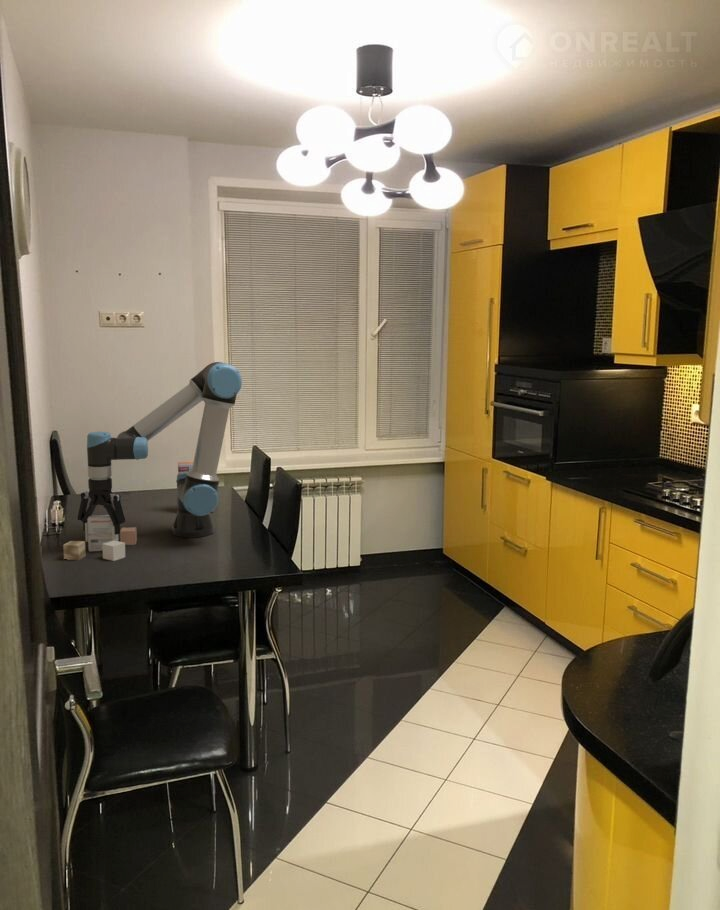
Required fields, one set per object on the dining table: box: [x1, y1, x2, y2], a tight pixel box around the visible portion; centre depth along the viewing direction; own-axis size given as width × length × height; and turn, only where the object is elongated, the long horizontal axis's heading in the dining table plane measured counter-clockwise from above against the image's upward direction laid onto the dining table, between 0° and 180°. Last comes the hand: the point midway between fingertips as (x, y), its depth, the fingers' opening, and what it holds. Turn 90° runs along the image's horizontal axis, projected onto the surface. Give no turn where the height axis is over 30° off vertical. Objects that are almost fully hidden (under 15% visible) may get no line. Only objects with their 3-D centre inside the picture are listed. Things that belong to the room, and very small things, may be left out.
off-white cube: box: [102, 540, 126, 562], centre depth 242 cm, size 5×5×5 cm
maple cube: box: [62, 540, 87, 561], centre depth 241 cm, size 5×5×5 cm
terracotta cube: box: [119, 526, 138, 546], centre depth 260 cm, size 5×5×5 cm
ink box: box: [87, 514, 114, 552], centre depth 251 cm, size 8×5×12 cm, turn 105°
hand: (102, 541), depth 251 cm, fingers closed on ink box, 9 cm apart
